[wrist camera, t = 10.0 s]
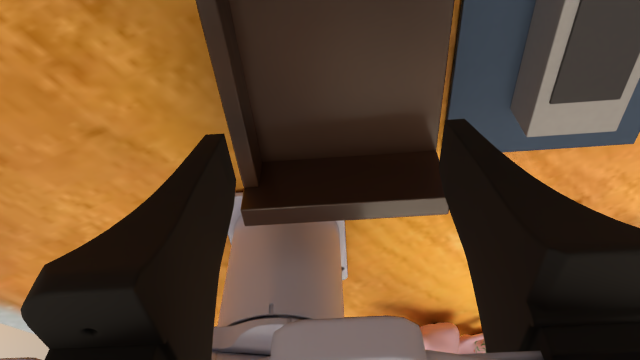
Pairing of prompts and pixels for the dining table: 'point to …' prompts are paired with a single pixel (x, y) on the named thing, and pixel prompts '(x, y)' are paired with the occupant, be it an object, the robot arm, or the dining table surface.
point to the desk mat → (509, 80)
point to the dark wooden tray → (332, 104)
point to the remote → (578, 67)
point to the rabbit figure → (451, 339)
